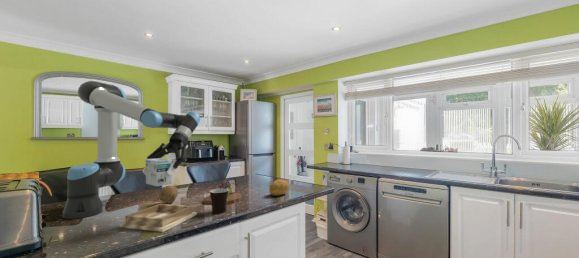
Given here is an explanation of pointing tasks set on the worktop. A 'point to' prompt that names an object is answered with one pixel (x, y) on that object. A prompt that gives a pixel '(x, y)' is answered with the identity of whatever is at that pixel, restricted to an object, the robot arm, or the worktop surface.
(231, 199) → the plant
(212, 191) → the coffee mug
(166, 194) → the natural sponge
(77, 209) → the robot arm
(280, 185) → the potato
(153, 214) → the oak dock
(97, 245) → the worktop surface
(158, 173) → the light bulb box
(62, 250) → the worktop surface
